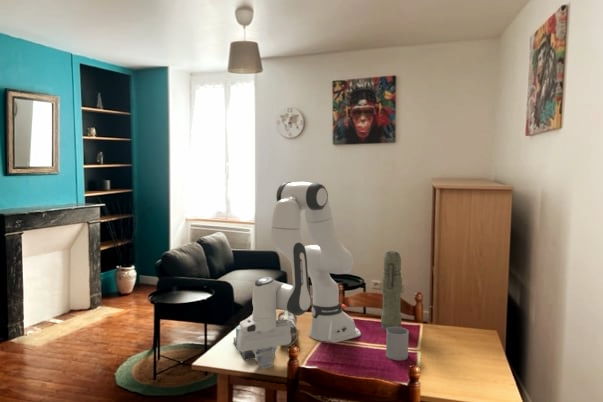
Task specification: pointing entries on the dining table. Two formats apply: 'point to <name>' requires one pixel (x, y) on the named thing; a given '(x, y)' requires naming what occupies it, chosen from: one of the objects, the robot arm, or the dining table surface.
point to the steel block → (265, 357)
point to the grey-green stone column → (391, 291)
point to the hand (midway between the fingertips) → (264, 358)
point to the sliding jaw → (237, 331)
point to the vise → (247, 352)
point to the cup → (397, 343)
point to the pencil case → (293, 320)
